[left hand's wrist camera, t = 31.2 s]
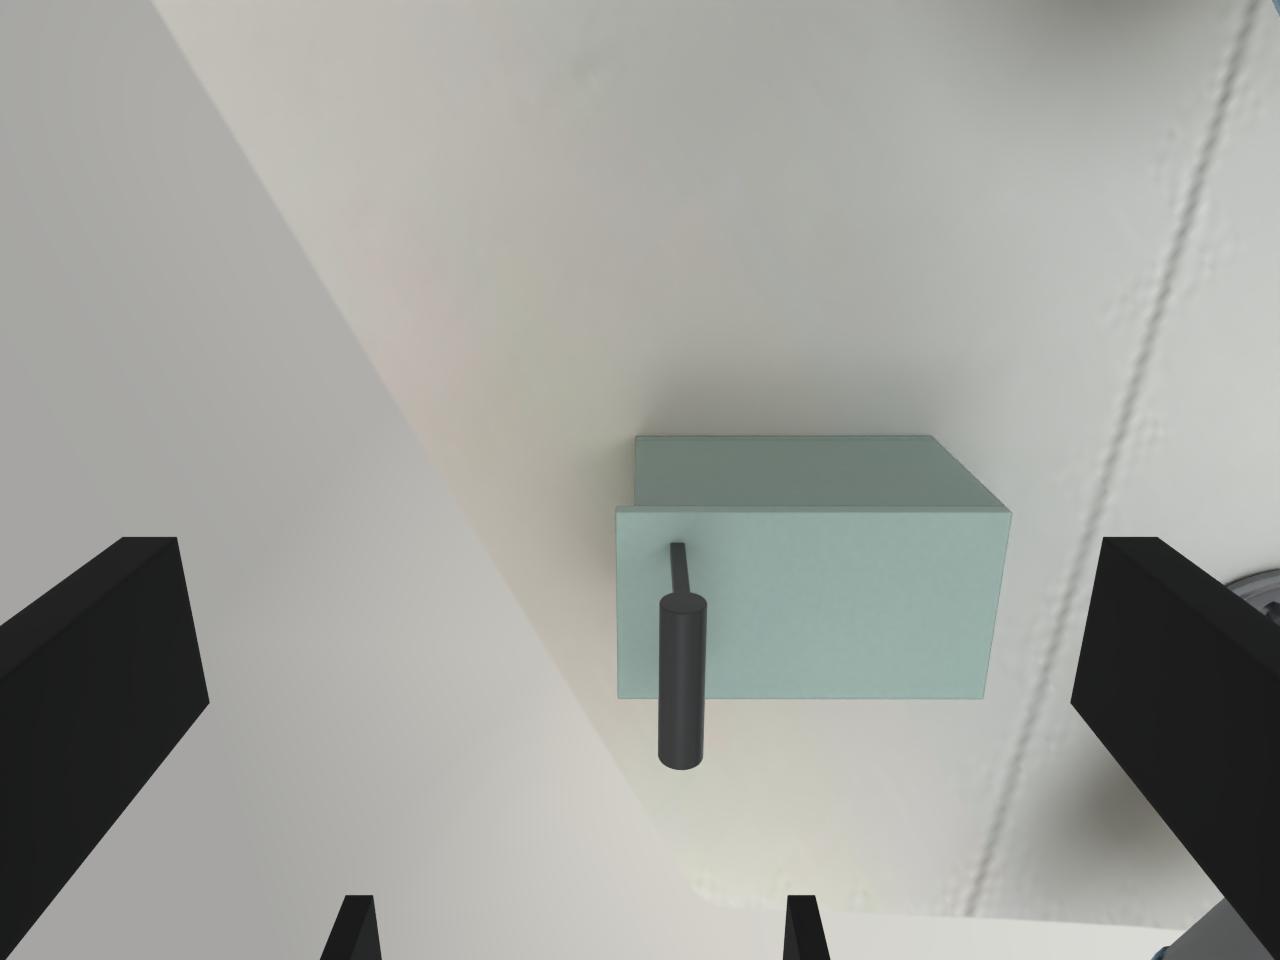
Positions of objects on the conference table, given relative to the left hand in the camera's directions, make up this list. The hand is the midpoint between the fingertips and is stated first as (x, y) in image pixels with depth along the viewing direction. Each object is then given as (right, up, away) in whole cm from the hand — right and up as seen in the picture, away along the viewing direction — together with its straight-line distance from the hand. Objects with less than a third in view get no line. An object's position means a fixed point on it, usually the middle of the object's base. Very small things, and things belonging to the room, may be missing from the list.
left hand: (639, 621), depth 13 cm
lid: (+8, -4, +30) cm, 31 cm away
